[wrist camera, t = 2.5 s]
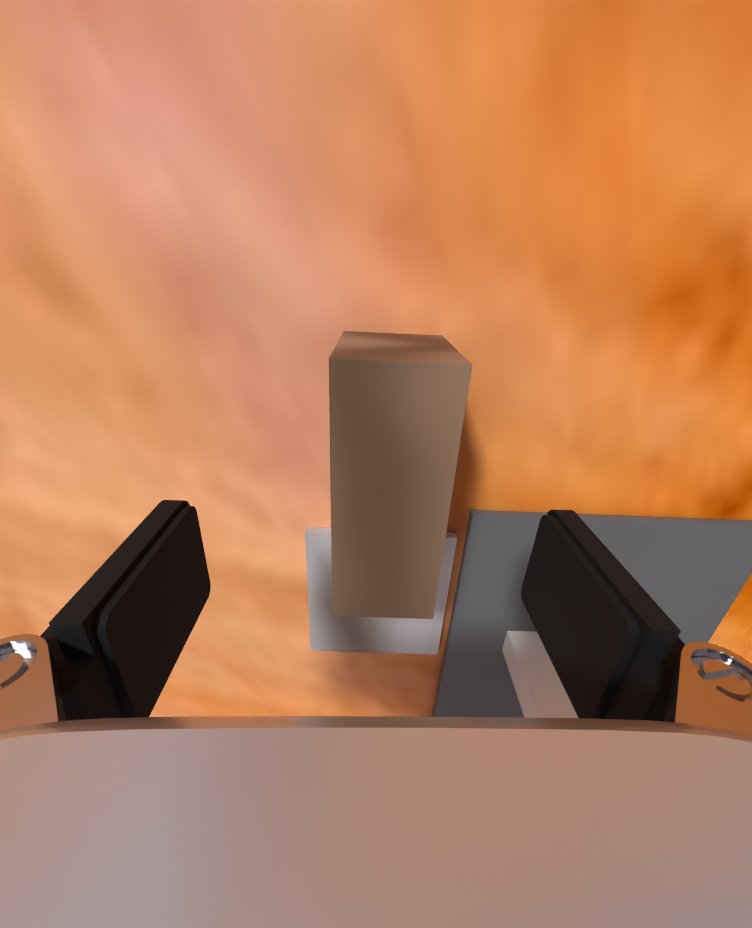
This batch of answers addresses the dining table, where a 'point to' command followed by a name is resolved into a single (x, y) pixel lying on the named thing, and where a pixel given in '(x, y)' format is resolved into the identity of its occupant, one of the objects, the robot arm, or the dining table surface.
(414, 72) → the dining table surface
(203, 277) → the dining table surface
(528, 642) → the tile
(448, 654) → the mat
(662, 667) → the robot arm
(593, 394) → the dining table surface
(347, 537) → the brown and grey block
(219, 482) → the dining table surface
